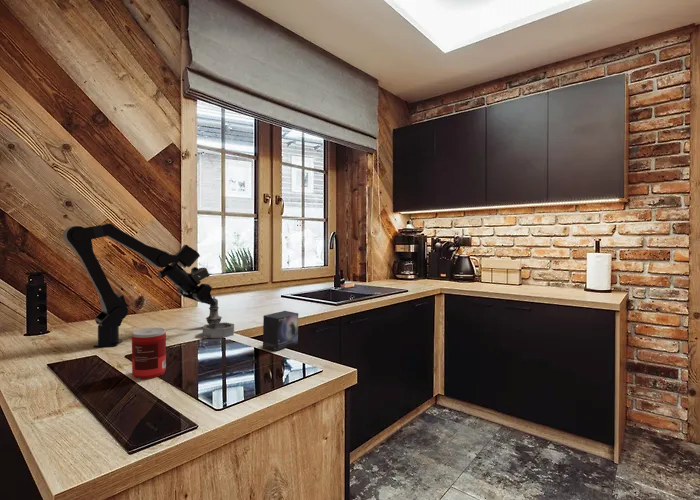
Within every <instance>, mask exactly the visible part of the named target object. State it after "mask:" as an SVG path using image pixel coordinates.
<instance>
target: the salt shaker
mask: <svg viewBox="0 0 700 500" xmlns="http://www.w3.org/2000/svg"><path fill="white" fill-rule="evenodd" d="M212 298H213V300H214V301H215V303H216V305H215V306H211V305H209V307H208V309H209V316H207V317H206V318H205V320H206V322H207V324H212V323H221V320H222V318H223V316H221V315H219V300H218V299H217V298H216V297H215V296H212Z"/></svg>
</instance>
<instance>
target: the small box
mask: <svg viewBox="0 0 700 500" xmlns="http://www.w3.org/2000/svg"><path fill="white" fill-rule="evenodd" d="M262 318H263V320H262V321H263V324H262V328H263V329H262V330H263V332H262V349H267V350H271V351H275V352H278V351H281V350H283V349H286V348H289V347H293V346H295V345H297V344H299V313H298V312H293V311H288V310H282V311H278V312H273V313H270V314H269V313H268V314H264V315H263V317H262Z"/></svg>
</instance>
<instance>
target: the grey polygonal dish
mask: <svg viewBox="0 0 700 500" xmlns="http://www.w3.org/2000/svg"><path fill="white" fill-rule="evenodd" d="M234 335H235V323H231V322H220V323H212V324H208V323H207V324H204V325H203V326H202V337H203V338H208V339H222V338H223V339H224V338H228V337H231V336H234Z"/></svg>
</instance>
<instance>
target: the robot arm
mask: <svg viewBox="0 0 700 500" xmlns="http://www.w3.org/2000/svg"><path fill="white" fill-rule="evenodd" d="M61 235H62V238H63V241H64V242H65V244H67V246H68V247H69V248H70V249H71V250H72V251H73V253H74V254H75V255H76V256H77V257H78V258H79V260H80V263H81V264H82V266H83V268H84V270H85V272H86V274H87V275H88V278H89V279H90V281H91V283H92V285H93V288H94V289H95V291H96V293H97V294H98V297H99V303H100V307H101V312H99V313H98V314H97V315H96V316H95V317H94V321H95V323H96V325H97V342H96V343H95V344H94V345H93V348H102V347H105V348H106V347H117V346H118V345H119V344H121V343H122V342H123V341H124V339H123V338H122V339H119V338H120V335H119V334H120V330H119V329H120V327H121V326H122V322H123V320H124V319H126V317H127V316H128V314H129V309H128V308H129V306H130V305H129V304H128V303H127V302H126V299H125V296H124V295H123V294H121V293H115V291H114V289H113V288H112V286H111V284H110V282H109V280H108V278H107V276H106V274H105V272H104V270H103V268H102V266H101V265H100V262H99V261H98V259H97V256H96V255H95V253H94V247H93V246H94V245H93V241H92V240H95V239H100V238H104V237H107V238H108V239H110V240H112V241H114V242H116V243H118V244H119V245H121V246H123V247H124V248H127V249H128V250H130V251H132V252H134V253H136V254H137V255H139V256H140V257H141V258H142V259H143V260H144V261H146V262H147V263H148V264H149V265H150V266H152V267H156V268H160V270H157V278H158V279H162V280H163V279H164V278H165V277H166V278H168V280H170V281H171V282H172V284H173V286H175V287H177V288H176V293H177V294H178V295H180V296H182V297H184V298H186V299H189V300H193V301H195V302H199V303H201V304H206V305H209V306H210V305H211V306H215V305H216V303H215V301H214V300H213V296H212V294H211V293H212V290H213V287H212V286H211V285H210V284H208V283H202V282H201V281H202V280H204V279H206V278H208V277H210V273H209V270H208V269H207V268H206V267H199V268H198V267H196V266H193V267H192V268H191V269H190V270H191V271H190V272H189V273H188V272H187V270H185V268H190V267H191V266H192V265H194V263H196V261H197V260H198V259H199V258H200V257H201V254H200V253H199V252H198V251H197V250H195V249H194V248H193V247H190V246H189V245H188V244H184V245H182V247H181V248H180V249H179V250H178V251H177V252H176V253H175V254H171V253H169V252H167V251H165V250H162V249H161V248H156V247H154V246H150V245H148V244H146V243H144V242H142V241H140V240H139V239H137V238H135V237H134V236H132V235H130V234H128V233H126V231H125V232H124V230H121V229H120V228H118V227H116V226H115V225H114V224H113V223H103V224H100V225H93V226H87V227H83V226H80V225H72V226H69V227H66V228H65V229H64V230H63V232H62V234H61ZM161 268H162V269H161Z"/></svg>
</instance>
